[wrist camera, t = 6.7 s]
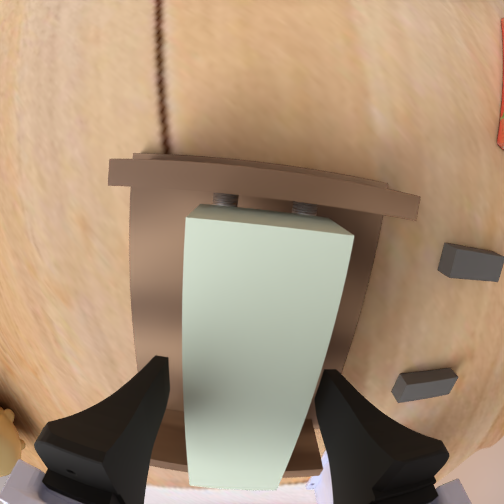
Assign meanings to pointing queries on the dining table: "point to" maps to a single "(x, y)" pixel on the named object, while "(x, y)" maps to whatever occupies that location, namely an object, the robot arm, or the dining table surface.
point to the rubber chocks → (453, 266)
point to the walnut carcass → (172, 256)
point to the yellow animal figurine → (9, 442)
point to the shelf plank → (254, 336)
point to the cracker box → (503, 131)
